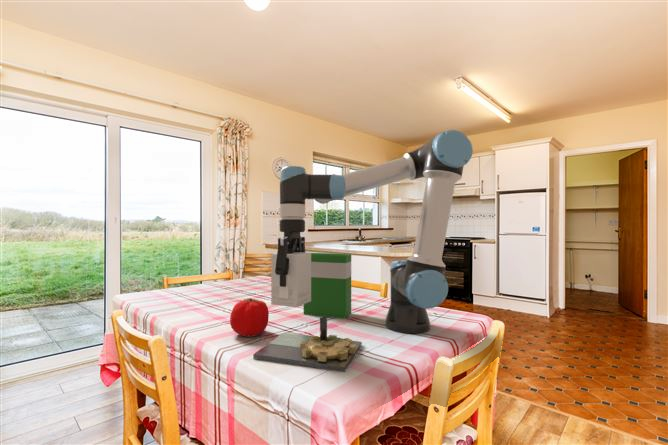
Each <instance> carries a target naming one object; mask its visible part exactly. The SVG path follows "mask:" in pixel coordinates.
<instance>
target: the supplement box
mask: <svg viewBox="0 0 668 445" xmlns="http://www.w3.org/2000/svg"><path fill="white" fill-rule="evenodd" d="M311 253H312V252H306V251H305V252H294V253H293V254H287V258H289V270H288V274H287V275H289V298H279V277H280V275H276V273H275V268H276V260H277V252H274V253H271V254H270V257H271V258H270V259H271V261H270V263H271V264H270V269H271V270H270V271H271V272H270V273H271V274H270V276H271V280H270V282H271V285H270V286H271V287H270V288H271V289H270V294H271V295H270V297H271V298H270V300H271V302H270V304H271V305H272V306H281V307H292V308H298V307H301V306H304V304H306V303H308V302H311Z"/></svg>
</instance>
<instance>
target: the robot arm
mask: <svg viewBox="0 0 668 445" xmlns="http://www.w3.org/2000/svg"><path fill="white" fill-rule="evenodd" d="M473 150H474V149H473V145H472V141H471V140H470V139H469V138H468V136H467V135H466V134H465V133H463V132H462V131H459V130H457V129H448V130H447V129H446V130H444V131H443V132H440V133H438V134H437V135H436V136H435V137H433V138H432V139H430V140H429V141H427V142H426V143H425V144H423V145H422V146H420V147H418V148H416V149H414V150H412V151H409V152H406V153H404V155H402V157H399V158H396V159H393V160H389V161H385V162H381V163H378V164H374V165H372V166H367V167H365V168H361V169H358V170H354V171H351V172H348V173H344V174H335V173H332V174H311V173H310V174H309V173H307V172H306V168H305V167H304V166H296V165H287V166H283V167H282V168H281V169H280V177H279V209H278V211H279V217H280V218H281V219H280V220H279V231H280V232H281V233H283V237H278V239H277V252H276V253H277V260H276V268H275V273H276V275H280V277H279V298H289V275H287V274H288V270H289V258H287V254H293V253H294V252H306V246H305V244H306V237H305V236H301V233H304V232H305V231H306V220H304V219H305V218H306V200H315V202H317V203H319V204H323V205H324V204H328V203H330V202H333V201H336V200H337V201H338V200H344V198H346V197H350V196H352V195H356V194H359V193H362V192H366V191H370V190H373V189H376V188H379V187H382V186H385V185H390V184H393V183H397V182H400V181H403V180H407V179H408V180H411V181H413V180H416V179H421V178H425V180H426V182H425V188H424V193H423V198H422V204H421V208H420V215H419V220H418V225H417V230H416V235H415V236H416V237H415V241H414V248H413V253H412V255H410V256H408V257H407V258H406V260H393V261H392V262H391V264H390V268H389V271H390V272H389V273H390V303H389V304H390V305H389V307H388V311H387V314H386V316H385V327H386V328H387V329H389V330H391V331H394V332H398V333H405V334H420V333H425V332H428V331H430V330H431V321H430V318H429V314H428V312H427V309H429V310H430V309H434V308H437V307H438V306H439V305H441V304H442V303H443V302H444V301H445V300H446V298H447V296H448V292H449V283H448V281H447V279H446V277H445V273H446V266H447V265H446V264H445V262H443V259H442V258H443V253H444V247H445V241H446V237H447V231H448V226H449V220H450V214H451V210H452V209H451V208H452V203H453V198H454V197H453V196H454V192H455V186H456V183H457V182H459V181H460V180H461V179H462V177H463V173H464V172H463V171H464V167H465V165H467V164H468V163H469V161H470V160H471V159H472V155H473V152H474V151H473Z"/></svg>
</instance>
